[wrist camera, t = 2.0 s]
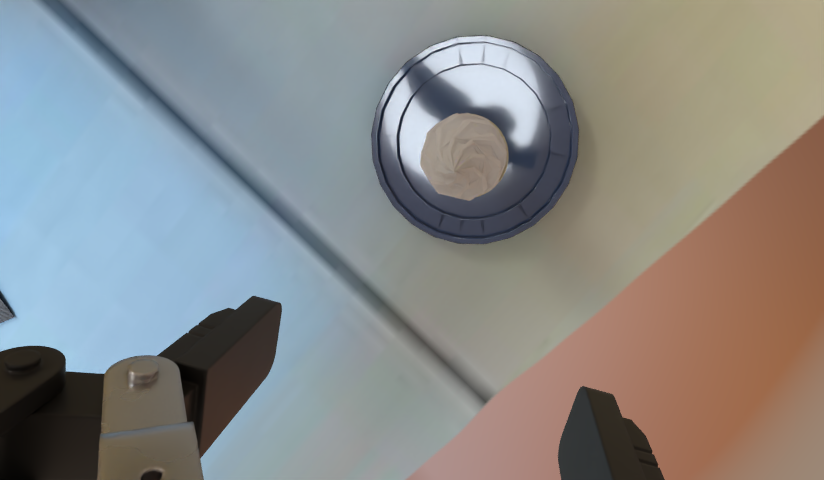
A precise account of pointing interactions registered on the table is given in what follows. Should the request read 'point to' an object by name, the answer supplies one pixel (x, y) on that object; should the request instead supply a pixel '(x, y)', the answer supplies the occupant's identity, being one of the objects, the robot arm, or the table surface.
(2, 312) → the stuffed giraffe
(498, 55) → the plate
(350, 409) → the table surface
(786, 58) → the table surface
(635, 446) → the robot arm
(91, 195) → the table surface
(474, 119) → the ice cream cone
